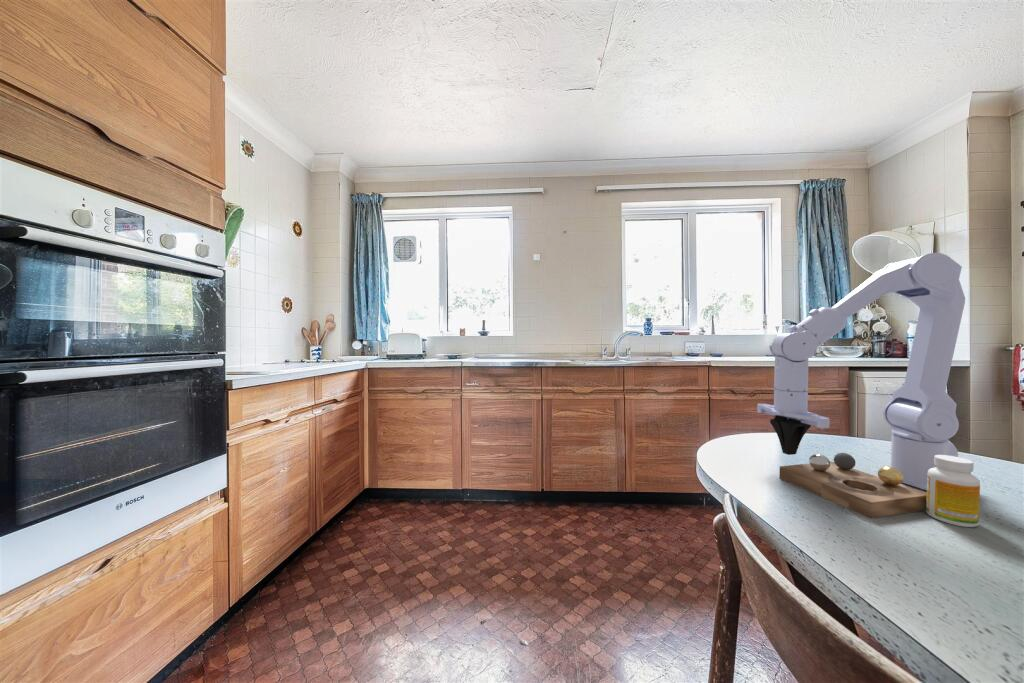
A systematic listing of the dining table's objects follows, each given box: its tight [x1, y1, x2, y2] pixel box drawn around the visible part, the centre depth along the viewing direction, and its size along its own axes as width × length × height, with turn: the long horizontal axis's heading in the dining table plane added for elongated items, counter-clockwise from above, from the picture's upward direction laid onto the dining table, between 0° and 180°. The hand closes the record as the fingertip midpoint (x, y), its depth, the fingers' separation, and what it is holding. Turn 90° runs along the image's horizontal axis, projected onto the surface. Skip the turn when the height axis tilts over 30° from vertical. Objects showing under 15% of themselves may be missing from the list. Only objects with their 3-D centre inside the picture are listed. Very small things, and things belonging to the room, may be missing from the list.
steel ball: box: [808, 453, 830, 471], centre depth 72 cm, size 3×3×3 cm
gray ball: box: [833, 452, 856, 470], centre depth 73 cm, size 3×3×3 cm
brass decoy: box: [877, 465, 903, 486], centre depth 66 cm, size 3×3×3 cm
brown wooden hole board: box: [778, 460, 927, 519], centre depth 68 cm, size 13×16×2 cm
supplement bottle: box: [925, 455, 981, 528], centre depth 59 cm, size 5×5×10 cm
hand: (789, 453), depth 79 cm, fingers closed
